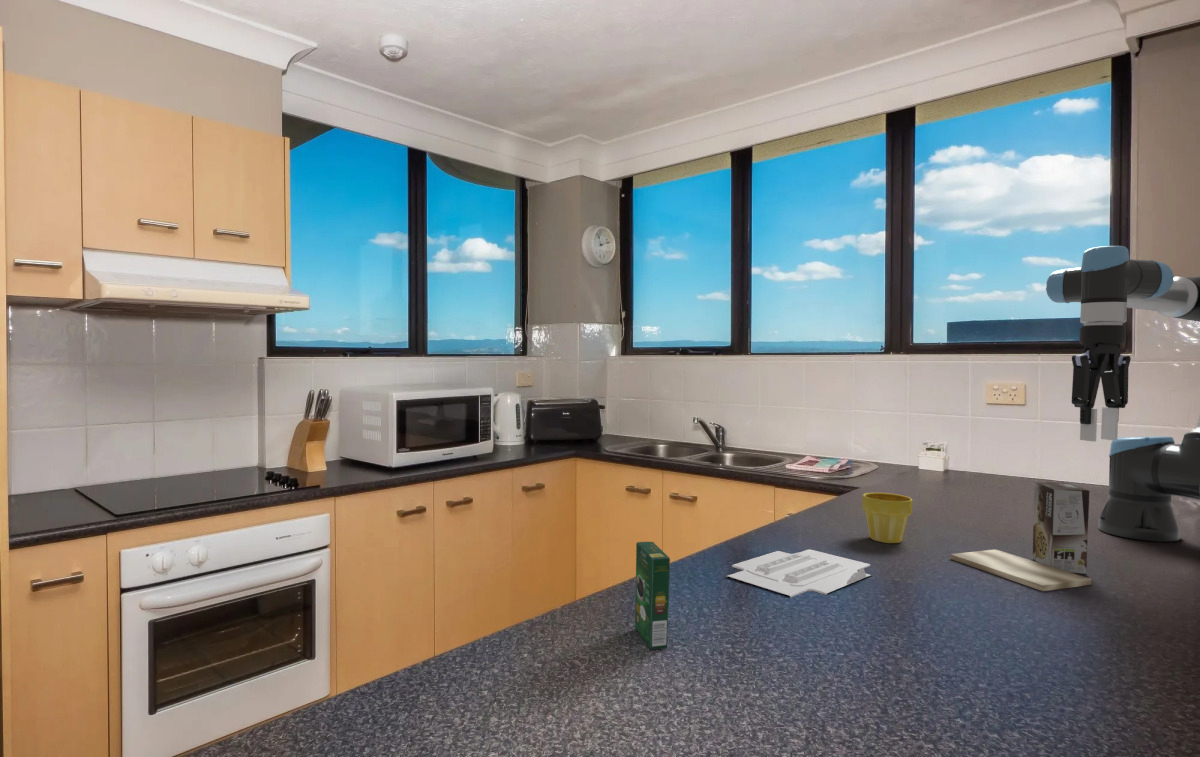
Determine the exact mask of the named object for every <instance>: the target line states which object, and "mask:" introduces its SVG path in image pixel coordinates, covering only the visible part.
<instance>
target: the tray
mask: <svg viewBox="0 0 1200 757" xmlns="http://www.w3.org/2000/svg"><path fill="white" fill-rule="evenodd" d="M868 567H871V564H870V563H865V562H863V561H858V560H854V559H850V558H847V557H841V556H837V555H834V554H830V553H826V552H822V551H819V550H818V551H817V550H813V549H805V550H803V551H800V552H795V553H788V552H784V551H780V550H776V551H773V552H770V553H767V554H763V555H761V556H757V557H753V558H750V559H747V560H744V561H740V562H738V563H735V564H732V565H731V568H735V569H736V570H737V569H738V570H740V571H737V572H735V573H732V574H727V575H726V576H725V578H728V577H730V578H731V579H736V580H737V581H742V582H744V583H748V584H751V585H755V586H757V587H761V588H763V589H768V590H769V591H773V592H776V593H779V594H783V595H787V596H789V598H790V599H792V598H793V597H795V596H798V595H801V594H803V593H806V592H815V593H819V594H822V595H826V596H828V594H829V593H831V592H834V591H836V590H838V589H841V588H843V587H846V586H848V585H850V584H853V583H856V582H857V581H860V580H862V579H865V578H867V577H872V574H868V573H867V572H866V571H865V569H867V568H868ZM858 570H859V571H858Z"/></svg>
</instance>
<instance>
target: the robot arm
mask: <svg viewBox="0 0 1200 757" xmlns="http://www.w3.org/2000/svg"><path fill="white" fill-rule="evenodd" d="M1045 285H1046V287H1045V290H1046V292H1045V293H1046V295H1047V296H1048V298H1049V299H1050V300H1051V301H1052V302H1053V303H1058V304H1059V303H1060V304H1061V303H1065V304H1070V303H1080V314H1079V316H1080V317H1079V318H1080V320H1079V323H1081V324H1083V325H1081V326H1080V327H1079V332H1078V334H1079V335H1078V337H1079V338H1078V340H1079V341H1078V342H1079V343H1080V345H1084V346H1083V347H1084V349H1083V350H1082V353H1081V354H1077V355H1075V354H1073V355H1072V356H1071V361H1072V362H1071V363H1072V367H1073V368H1072V386H1071V389H1072V390H1071V404H1072V405H1074V408H1079V423H1080V424H1079V425H1080V429H1079V440H1080V441H1084V442H1085V441H1087V442H1097V429H1098V428H1097V426H1098V423H1097V422H1098V408H1094V406H1095V403H1096V400H1097V395H1098V391H1099V388H1100V382H1101V387H1102V391H1103V392H1102V393H1103V399H1104V405H1105V407H1101V427H1100V428H1101V429H1100V430H1101V431H1100V439H1101V440H1107V441H1111V443H1110V450H1109V454H1108V457H1109V466H1108V469H1109V471H1108V474H1109V475H1108V498H1107V500H1106V503H1105V504H1104V507H1103V509H1102V511H1101V513H1100V516H1099V517H1098V529H1099V530H1100V531H1102V532H1104V533H1105V534H1110V535H1114V536H1118V537H1122V538H1127V539H1128V538H1129V539H1134V540H1139V541H1149V542H1164V543H1165V542H1177V541H1180V539H1181V528H1180V527H1179V523H1178V519H1177V518H1176V514H1175V512H1174V509H1173V506H1172V496H1173V497H1179V498H1186V499H1192V500H1197V501H1200V415H1198V416H1199V417H1198V420H1197V423H1196V425H1195V426H1196V427H1195V428H1193V429H1192V430H1190V431H1187V432H1185V433H1184V435H1183V438H1182V440H1181V443H1180V444H1179V443H1176V442H1175V440H1174V437H1172V436H1131V437H1130V436H1128V437H1127V436H1125V437H1118V433H1119V432H1118V430H1119V429H1118V428H1119V419H1120V418H1119V416H1120V414H1119V413H1120V409H1125V408H1126V405H1127V404H1129V367H1130V363H1131V359H1132V358H1131V356H1130V355H1123V354H1122V353H1121V350H1120V345H1124V344H1126V341H1127V339H1126V338H1127V327H1126V326H1125V325H1123V324H1124V323H1126V322H1127V321H1128V320H1127V318H1128V315H1127V314H1128V309H1135V310H1143V311H1150V312H1157V313H1158V314H1160V315H1161V316H1163V317H1167V318H1174V319H1179V320H1187V321H1193V322H1198V323H1199V322H1200V276H1199V275H1198V276H1189V277H1183V276H1174V271H1173V269H1172V268H1171V267H1170V266H1169V265H1168V264H1166V263H1164V262H1161V261H1157V260H1153V259H1149V260H1146V259H1145V260H1144V259H1131V258H1130V253H1129V249H1128V248H1127V247H1126V246H1124V245H1105V246H1096V247H1091V248H1088V249H1087V250H1085V251H1084V252H1083V254H1082V258H1081V267H1074V268H1068V267H1067V268H1063V269H1060V270H1055V271H1053V272H1052V273H1051V274H1049V276H1048V278H1047V280H1046V284H1045Z"/></svg>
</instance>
